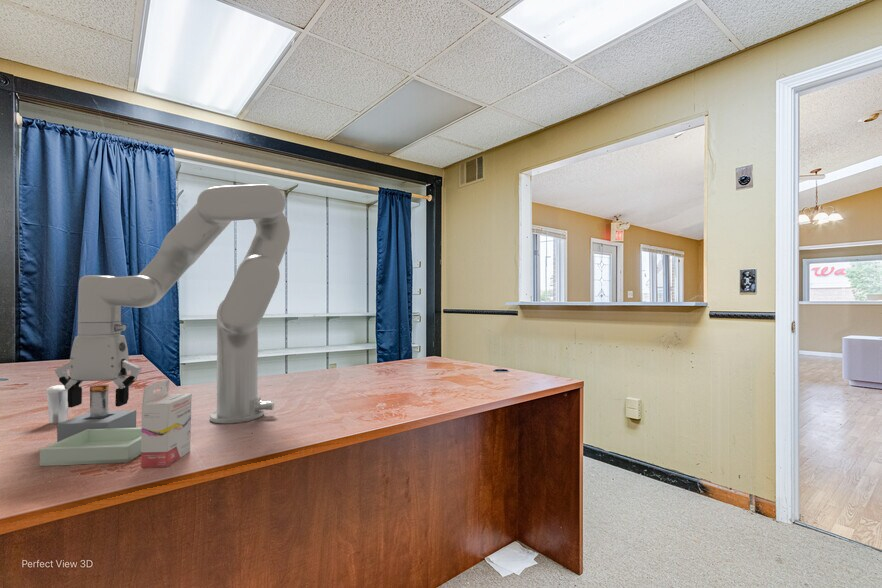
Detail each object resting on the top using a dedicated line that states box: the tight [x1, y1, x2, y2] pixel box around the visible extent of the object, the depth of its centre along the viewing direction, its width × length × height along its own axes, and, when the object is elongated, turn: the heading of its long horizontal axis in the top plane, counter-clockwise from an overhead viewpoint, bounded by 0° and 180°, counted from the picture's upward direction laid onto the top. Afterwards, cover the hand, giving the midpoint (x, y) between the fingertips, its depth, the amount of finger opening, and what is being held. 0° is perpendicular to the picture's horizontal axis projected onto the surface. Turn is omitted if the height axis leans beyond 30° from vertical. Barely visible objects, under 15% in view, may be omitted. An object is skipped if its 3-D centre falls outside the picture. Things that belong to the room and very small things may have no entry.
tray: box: [39, 426, 142, 467], centre depth 84 cm, size 15×12×3 cm
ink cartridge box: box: [140, 379, 193, 468], centre depth 81 cm, size 9×5×15 cm, turn 5°
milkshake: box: [45, 384, 69, 425], centre depth 104 cm, size 5×5×10 cm
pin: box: [89, 383, 110, 420], centre depth 95 cm, size 3×3×11 cm
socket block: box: [56, 409, 137, 442], centre depth 95 cm, size 10×10×4 cm
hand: (98, 405), depth 95 cm, fingers open, 9 cm apart
